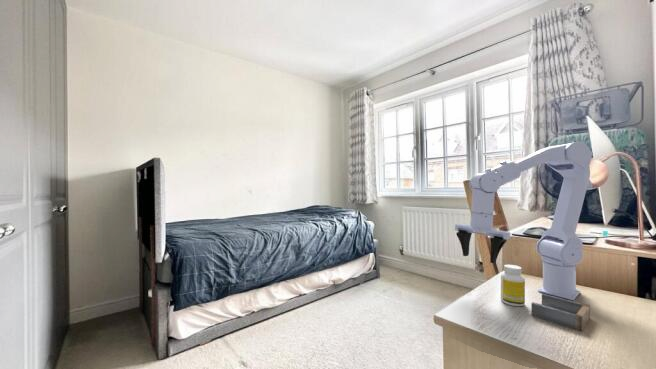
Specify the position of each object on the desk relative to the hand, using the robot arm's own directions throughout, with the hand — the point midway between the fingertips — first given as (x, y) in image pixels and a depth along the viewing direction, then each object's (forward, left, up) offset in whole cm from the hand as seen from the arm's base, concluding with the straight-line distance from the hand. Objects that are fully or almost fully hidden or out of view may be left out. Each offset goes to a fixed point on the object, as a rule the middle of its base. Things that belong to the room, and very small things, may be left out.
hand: (478, 259), depth 79 cm
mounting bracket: (0, +18, -10) cm, 21 cm away
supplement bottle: (0, +8, -10) cm, 13 cm away
